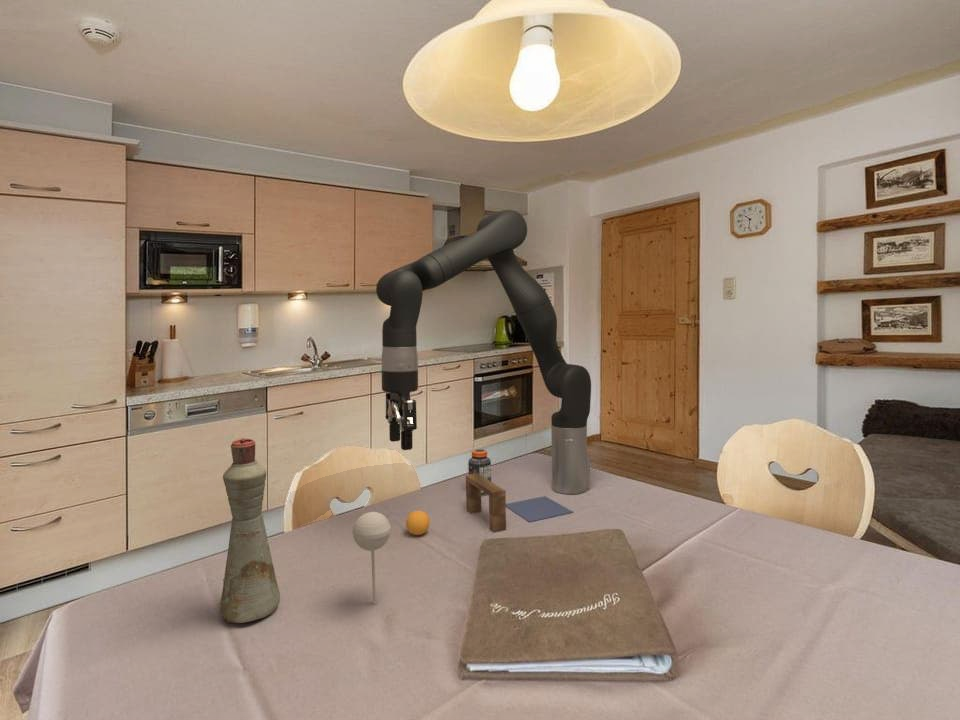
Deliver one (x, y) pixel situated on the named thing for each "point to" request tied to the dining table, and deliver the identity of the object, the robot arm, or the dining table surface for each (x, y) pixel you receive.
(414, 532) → the ball
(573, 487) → the robot arm
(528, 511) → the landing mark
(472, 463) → the pill bottle
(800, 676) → the dining table surface
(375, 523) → the lollipop
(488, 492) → the bridge
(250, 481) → the bottle
